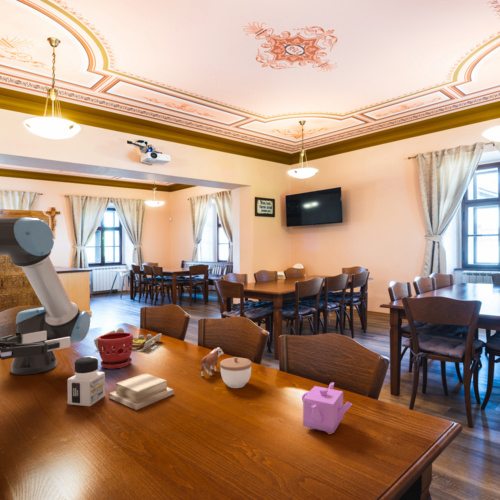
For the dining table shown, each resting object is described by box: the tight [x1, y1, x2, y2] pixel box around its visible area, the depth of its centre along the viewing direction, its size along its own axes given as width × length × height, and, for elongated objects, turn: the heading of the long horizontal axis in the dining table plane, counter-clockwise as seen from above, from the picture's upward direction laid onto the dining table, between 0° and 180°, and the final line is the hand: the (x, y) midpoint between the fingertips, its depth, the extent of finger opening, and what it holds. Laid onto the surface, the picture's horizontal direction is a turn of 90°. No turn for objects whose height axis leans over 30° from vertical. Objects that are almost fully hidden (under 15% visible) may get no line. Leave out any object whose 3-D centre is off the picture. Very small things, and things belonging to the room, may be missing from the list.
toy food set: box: [93, 327, 162, 353], centre depth 172 cm, size 25×18×8 cm
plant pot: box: [97, 331, 134, 370], centre depth 144 cm, size 13×13×12 cm
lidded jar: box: [219, 356, 253, 389], centre depth 123 cm, size 11×11×9 cm
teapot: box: [301, 381, 353, 434], centre depth 95 cm, size 18×13×10 cm
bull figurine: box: [200, 347, 224, 377], centre depth 136 cm, size 4×14×8 cm, turn 155°
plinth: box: [108, 372, 174, 411], centre depth 114 cm, size 14×14×4 cm
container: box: [66, 355, 106, 407], centre depth 111 cm, size 8×8×13 cm
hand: (57, 338), depth 104 cm, fingers open, 13 cm apart
